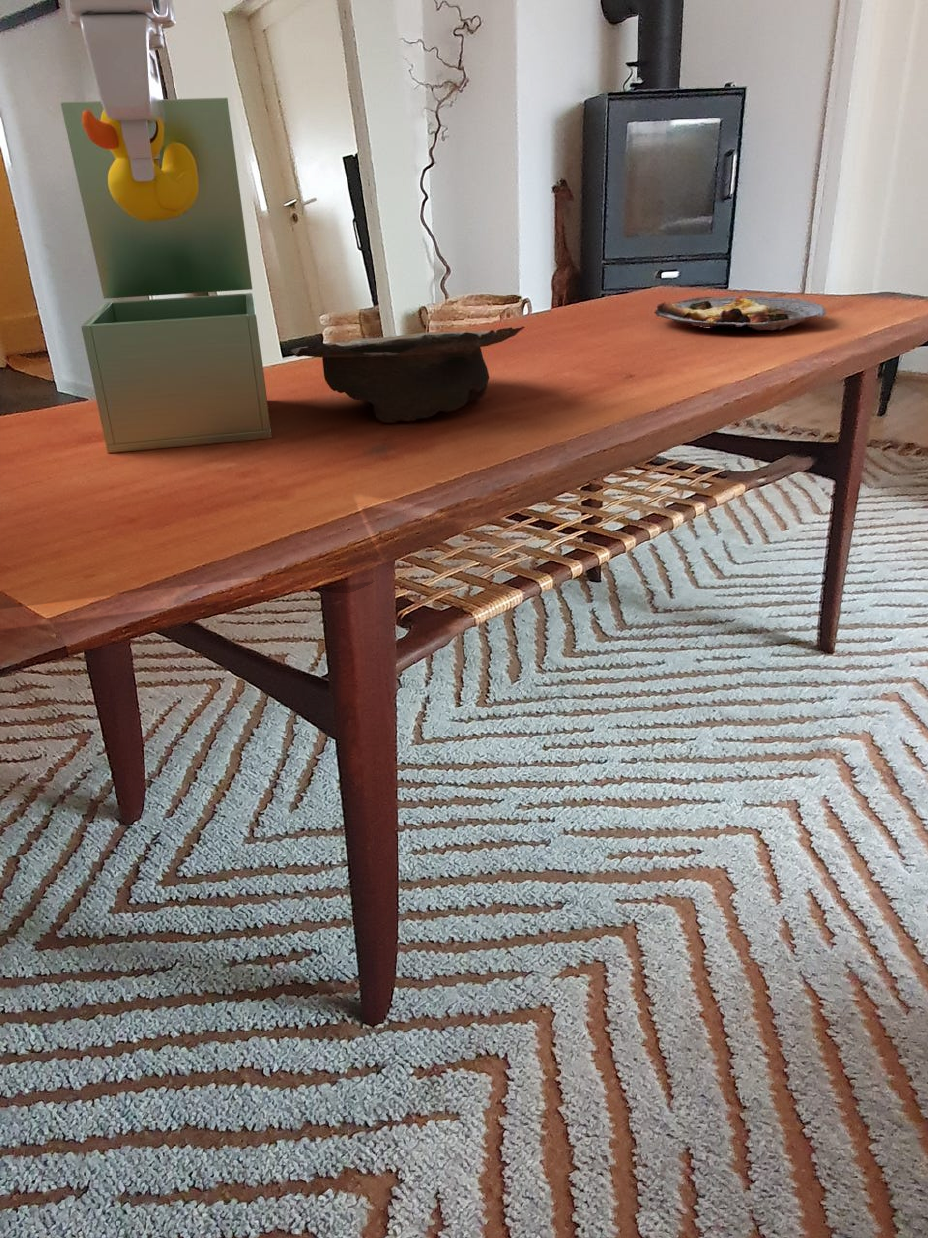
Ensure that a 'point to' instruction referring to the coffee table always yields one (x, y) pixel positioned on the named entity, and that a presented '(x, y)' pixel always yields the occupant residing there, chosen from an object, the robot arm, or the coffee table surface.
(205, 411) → the box
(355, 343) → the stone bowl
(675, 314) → the food plate
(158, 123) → the duckling
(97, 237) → the breadbin lid
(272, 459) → the coffee table surface
